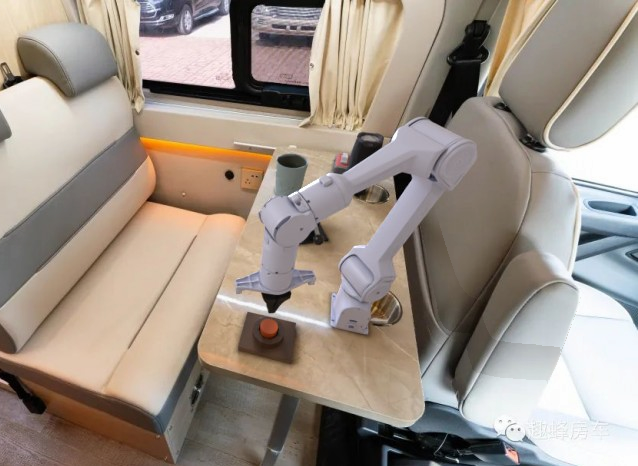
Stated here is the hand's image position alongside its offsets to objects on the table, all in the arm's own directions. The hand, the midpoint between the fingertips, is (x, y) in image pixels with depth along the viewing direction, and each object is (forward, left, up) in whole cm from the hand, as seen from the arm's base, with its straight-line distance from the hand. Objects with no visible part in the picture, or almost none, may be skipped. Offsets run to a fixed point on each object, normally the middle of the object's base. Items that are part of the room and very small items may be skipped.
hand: (270, 308), depth 64 cm
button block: (0, 0, -10) cm, 10 cm away
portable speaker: (+64, -19, -11) cm, 67 cm away
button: (0, 0, -7) cm, 7 cm away
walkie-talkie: (+81, -16, -11) cm, 83 cm away
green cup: (+57, +3, -11) cm, 58 cm away
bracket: (+38, -5, -10) cm, 39 cm away
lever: (+35, -7, -6) cm, 36 cm away
